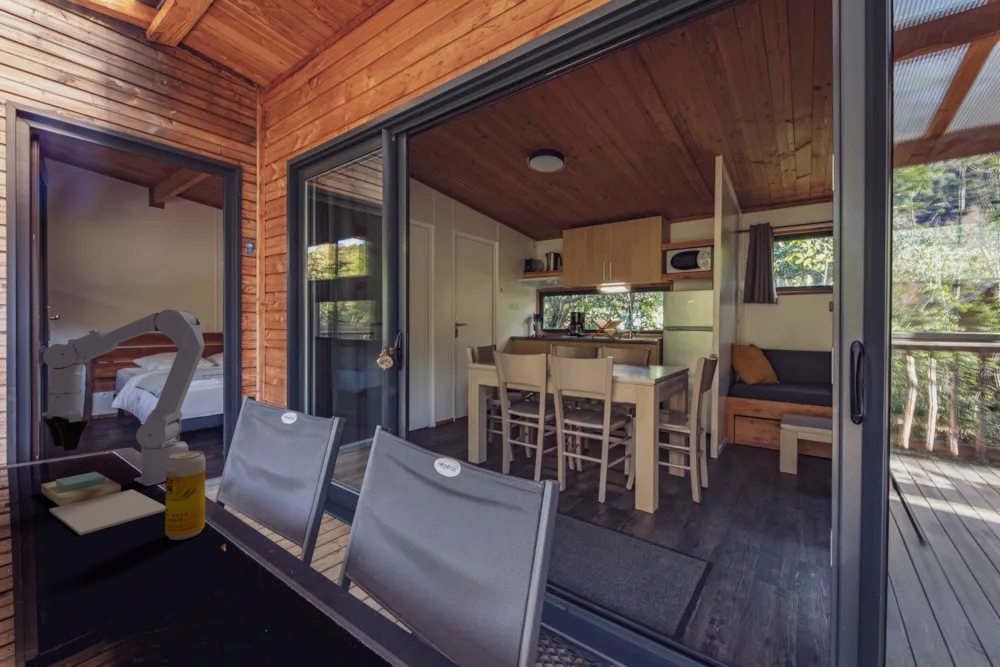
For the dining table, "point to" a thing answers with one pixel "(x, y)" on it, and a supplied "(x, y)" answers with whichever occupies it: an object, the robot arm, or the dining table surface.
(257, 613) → the dining table surface
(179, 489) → the beer can
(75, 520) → the mat
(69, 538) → the dining table surface
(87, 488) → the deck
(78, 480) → the tile
